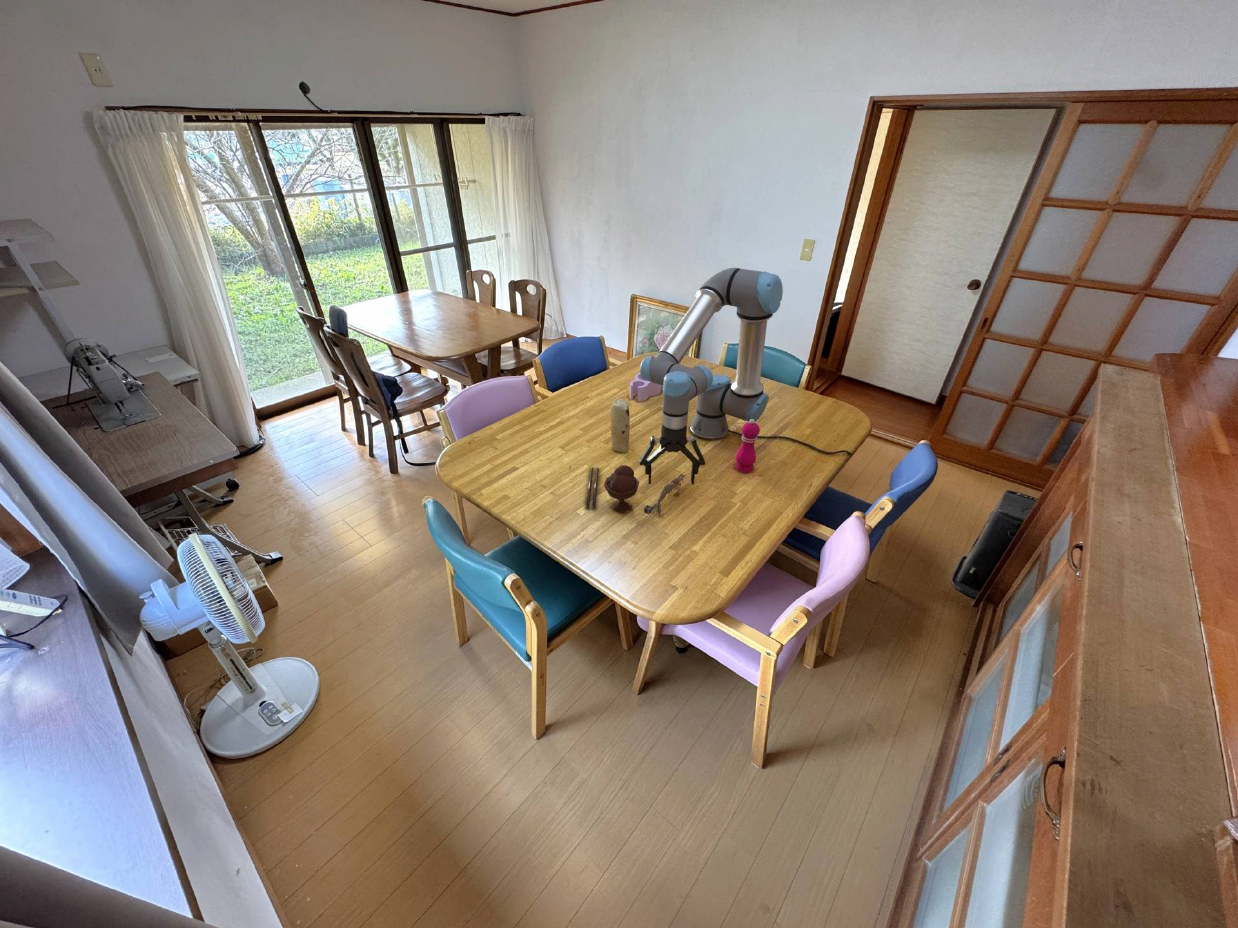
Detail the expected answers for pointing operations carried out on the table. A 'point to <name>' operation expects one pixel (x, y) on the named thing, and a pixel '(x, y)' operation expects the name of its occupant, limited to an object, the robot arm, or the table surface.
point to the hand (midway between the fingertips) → (670, 481)
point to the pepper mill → (747, 447)
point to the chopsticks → (594, 488)
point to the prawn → (664, 492)
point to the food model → (620, 425)
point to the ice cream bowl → (622, 487)
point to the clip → (643, 388)
